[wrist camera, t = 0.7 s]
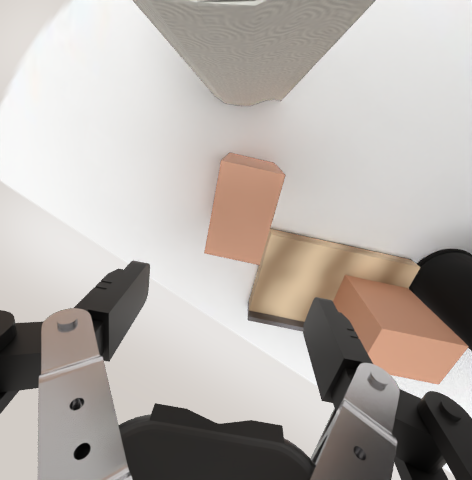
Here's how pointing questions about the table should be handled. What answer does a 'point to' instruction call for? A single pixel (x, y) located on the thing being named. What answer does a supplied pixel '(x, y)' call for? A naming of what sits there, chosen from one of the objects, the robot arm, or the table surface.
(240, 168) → the carton
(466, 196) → the table surface
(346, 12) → the paper towel roll
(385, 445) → the robot arm
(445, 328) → the carton faced
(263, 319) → the tan flat block
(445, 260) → the aerosol can
